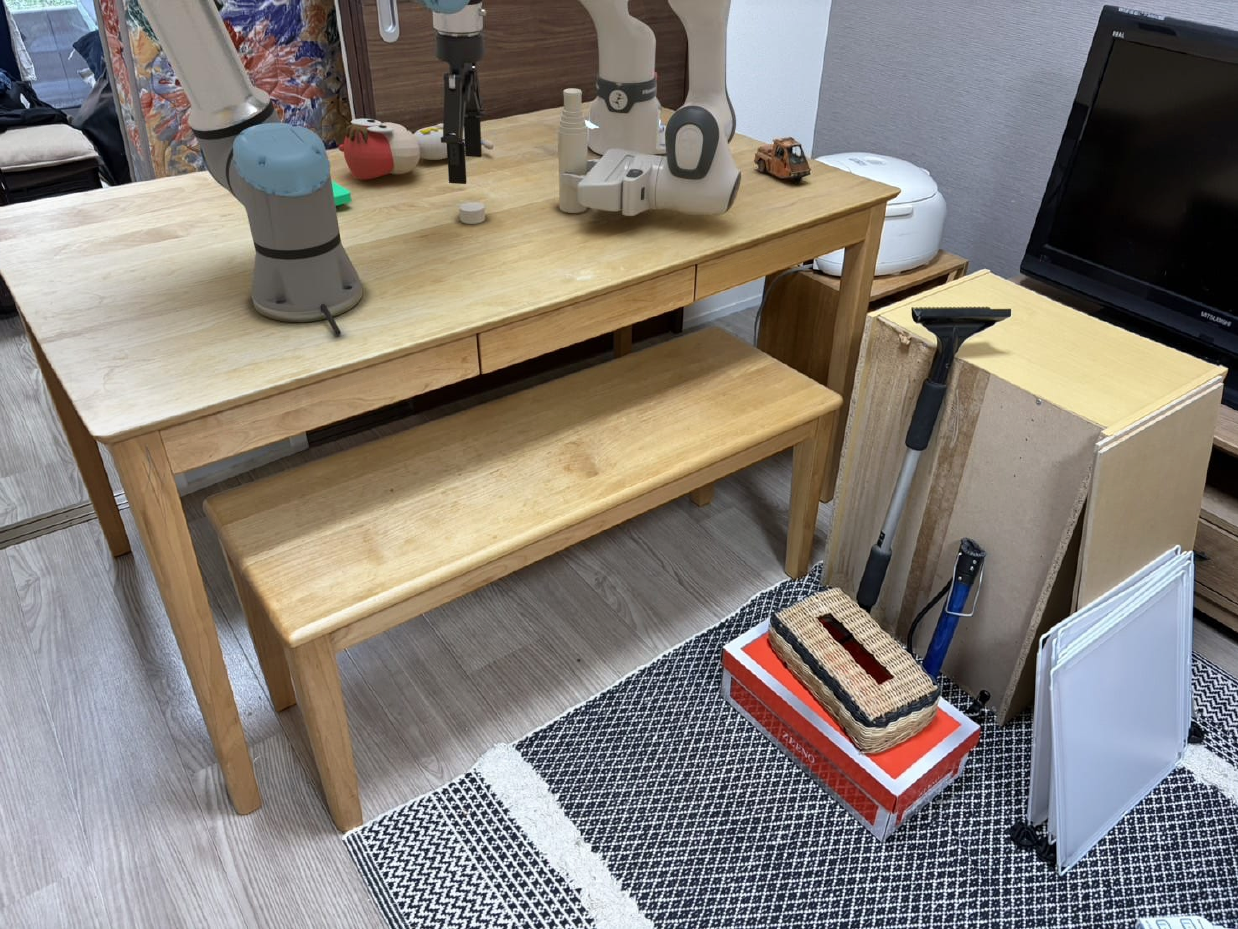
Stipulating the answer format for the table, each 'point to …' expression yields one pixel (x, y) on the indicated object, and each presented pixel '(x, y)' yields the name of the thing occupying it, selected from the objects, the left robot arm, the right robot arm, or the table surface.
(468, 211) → the cap
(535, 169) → the table surface
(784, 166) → the toy car
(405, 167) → the toy
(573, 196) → the bottle
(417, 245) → the table surface
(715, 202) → the right robot arm
